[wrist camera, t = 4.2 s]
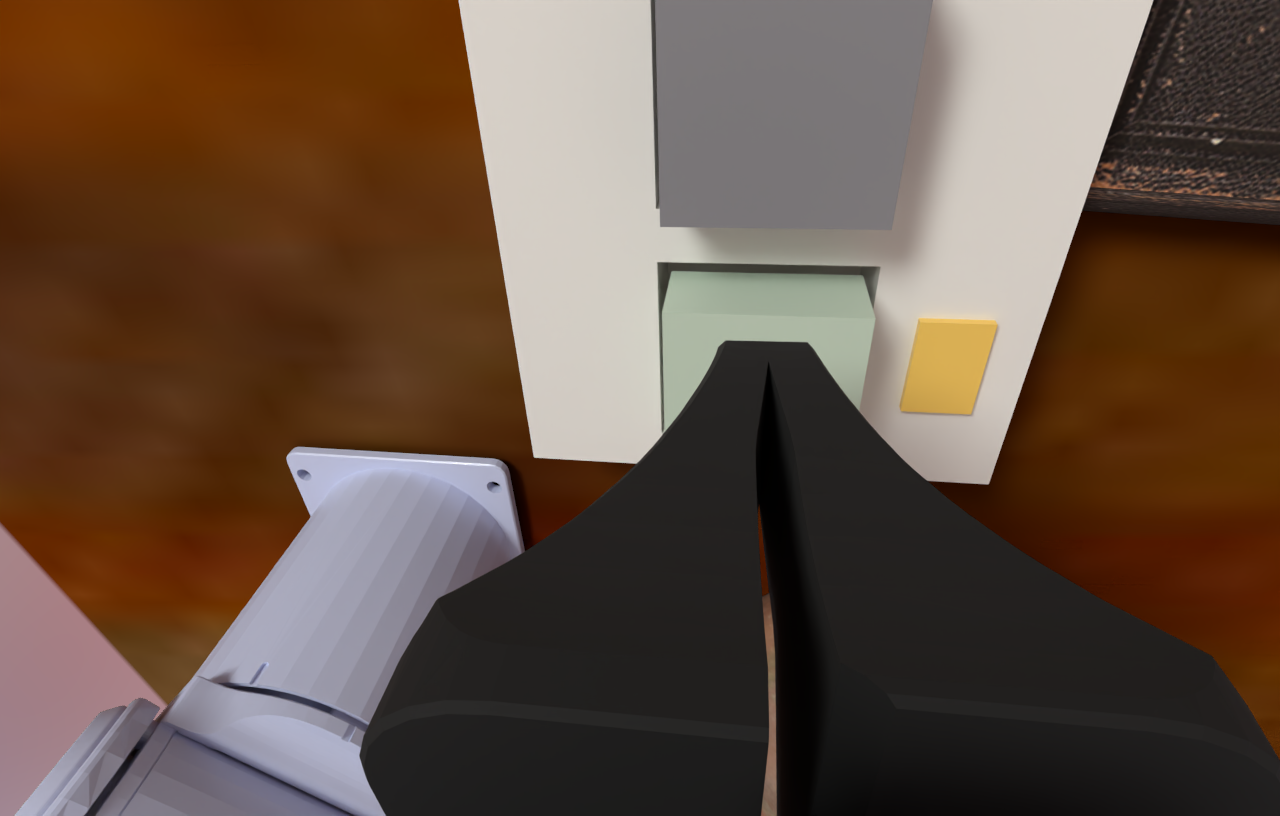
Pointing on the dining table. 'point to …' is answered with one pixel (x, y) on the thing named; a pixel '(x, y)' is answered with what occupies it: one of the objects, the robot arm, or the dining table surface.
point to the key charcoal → (785, 110)
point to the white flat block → (888, 259)
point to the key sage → (763, 324)
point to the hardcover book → (1198, 117)
